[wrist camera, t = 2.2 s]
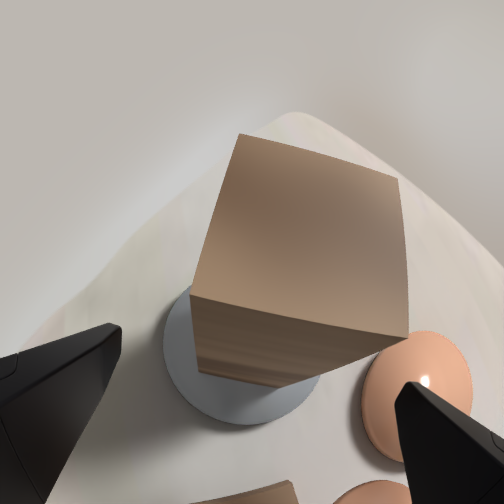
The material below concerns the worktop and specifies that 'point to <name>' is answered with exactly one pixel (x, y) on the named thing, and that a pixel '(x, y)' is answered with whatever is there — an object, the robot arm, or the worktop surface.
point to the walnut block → (298, 267)
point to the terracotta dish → (418, 370)
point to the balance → (355, 500)
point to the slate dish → (222, 379)
